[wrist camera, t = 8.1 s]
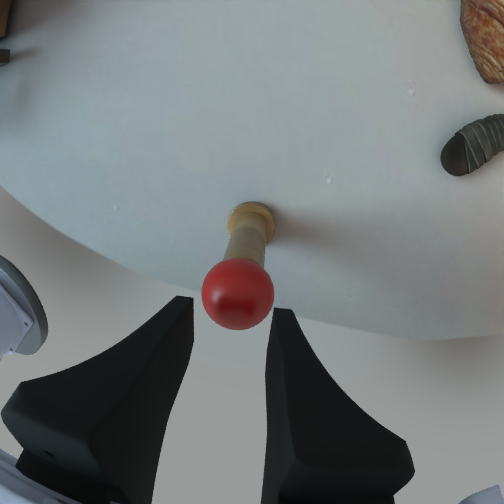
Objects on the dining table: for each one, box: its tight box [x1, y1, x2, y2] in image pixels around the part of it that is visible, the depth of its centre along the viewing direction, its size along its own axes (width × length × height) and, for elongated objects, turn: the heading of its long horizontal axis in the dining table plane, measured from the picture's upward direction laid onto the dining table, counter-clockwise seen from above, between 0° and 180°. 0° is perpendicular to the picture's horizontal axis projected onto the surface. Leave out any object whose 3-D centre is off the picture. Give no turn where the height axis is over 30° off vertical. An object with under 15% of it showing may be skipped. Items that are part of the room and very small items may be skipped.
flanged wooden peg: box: [223, 202, 275, 268], centre depth 18 cm, size 3×3×7 cm
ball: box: [202, 258, 274, 330], centre depth 13 cm, size 3×3×3 cm
